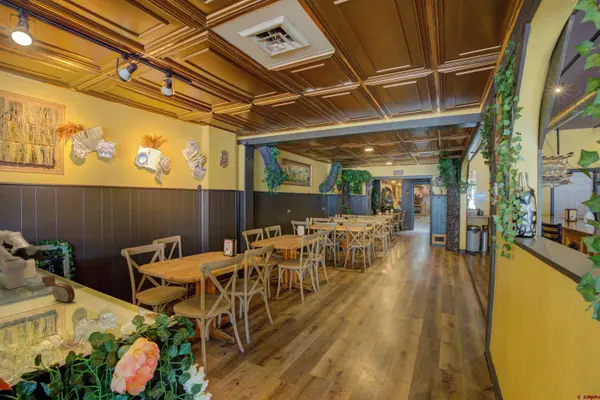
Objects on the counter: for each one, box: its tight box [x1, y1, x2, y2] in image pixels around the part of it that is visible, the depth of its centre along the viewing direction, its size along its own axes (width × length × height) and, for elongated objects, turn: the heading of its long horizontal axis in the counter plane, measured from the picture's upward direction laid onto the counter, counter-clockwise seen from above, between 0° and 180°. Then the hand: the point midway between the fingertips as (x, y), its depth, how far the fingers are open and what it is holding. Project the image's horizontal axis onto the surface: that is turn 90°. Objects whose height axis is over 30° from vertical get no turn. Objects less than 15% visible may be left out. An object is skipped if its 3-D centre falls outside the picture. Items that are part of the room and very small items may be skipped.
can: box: [24, 257, 37, 280], centre depth 181 cm, size 6×6×12 cm
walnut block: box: [41, 274, 56, 288], centre depth 162 cm, size 4×4×6 cm
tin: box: [51, 282, 76, 303], centre depth 136 cm, size 15×3×8 cm, turn 65°
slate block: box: [29, 281, 46, 292], centre depth 157 cm, size 5×5×3 cm
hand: (35, 259), depth 155 cm, fingers open, 7 cm apart
